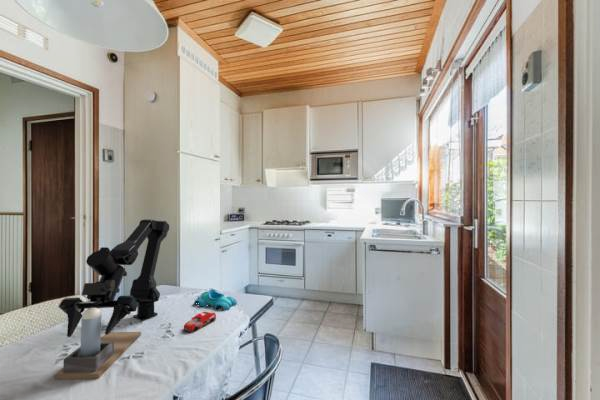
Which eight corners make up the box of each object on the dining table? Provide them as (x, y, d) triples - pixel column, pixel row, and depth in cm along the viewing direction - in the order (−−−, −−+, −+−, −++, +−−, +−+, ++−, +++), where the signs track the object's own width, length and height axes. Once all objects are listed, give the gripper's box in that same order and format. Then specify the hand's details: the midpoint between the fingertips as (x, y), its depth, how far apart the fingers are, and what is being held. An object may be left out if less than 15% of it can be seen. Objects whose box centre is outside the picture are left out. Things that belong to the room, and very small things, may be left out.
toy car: (207, 297, 128) (207, 284, 128) (239, 303, 122) (240, 289, 122) (191, 306, 118) (191, 291, 118) (225, 312, 112) (226, 297, 112)
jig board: (107, 335, 91) (107, 322, 91) (141, 335, 92) (141, 321, 92) (53, 379, 69) (54, 361, 69) (98, 378, 70) (99, 360, 70)
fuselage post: (79, 361, 74) (81, 307, 74) (98, 355, 77) (100, 303, 78) (80, 369, 71) (82, 312, 71) (101, 362, 74) (102, 308, 74)
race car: (190, 335, 93) (190, 324, 93) (180, 331, 96) (180, 320, 95) (218, 320, 105) (218, 310, 105) (208, 317, 107) (208, 307, 107)
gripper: (63, 270, 76) (31, 327, 65) (134, 269, 80) (114, 322, 69) (80, 288, 84) (54, 341, 73) (144, 286, 87) (128, 336, 77)
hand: (87, 335), depth 73 cm, fingers open, 9 cm apart
